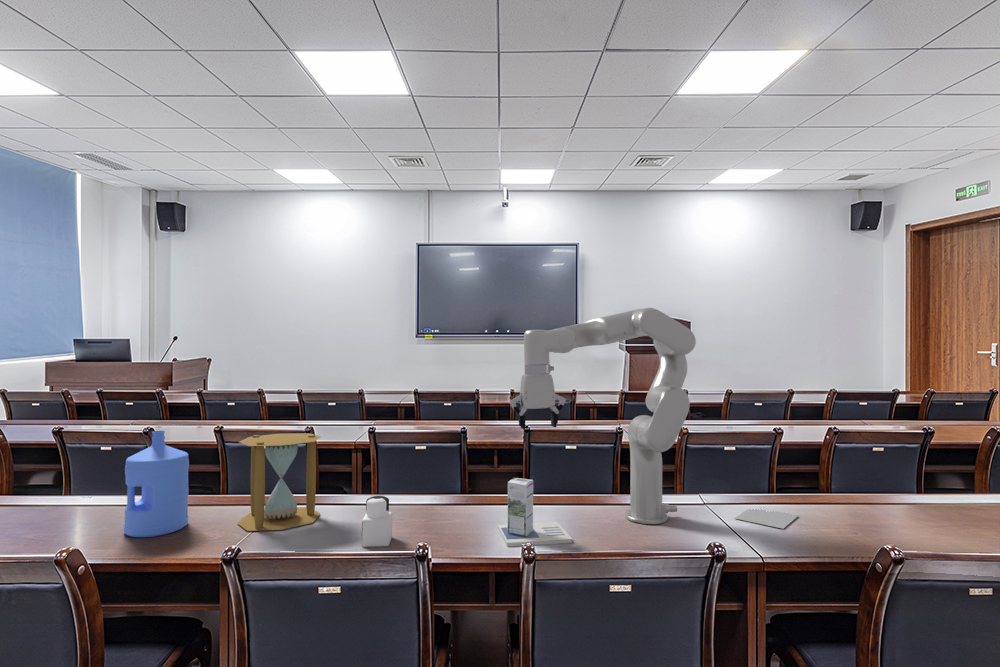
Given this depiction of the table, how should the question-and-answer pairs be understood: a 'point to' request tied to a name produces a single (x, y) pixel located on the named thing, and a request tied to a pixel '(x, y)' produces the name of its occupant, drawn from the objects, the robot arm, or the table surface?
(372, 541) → the medicine bottle
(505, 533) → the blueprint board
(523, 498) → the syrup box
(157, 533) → the water jug
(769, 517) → the paper stack
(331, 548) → the table surface
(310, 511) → the hourglass
